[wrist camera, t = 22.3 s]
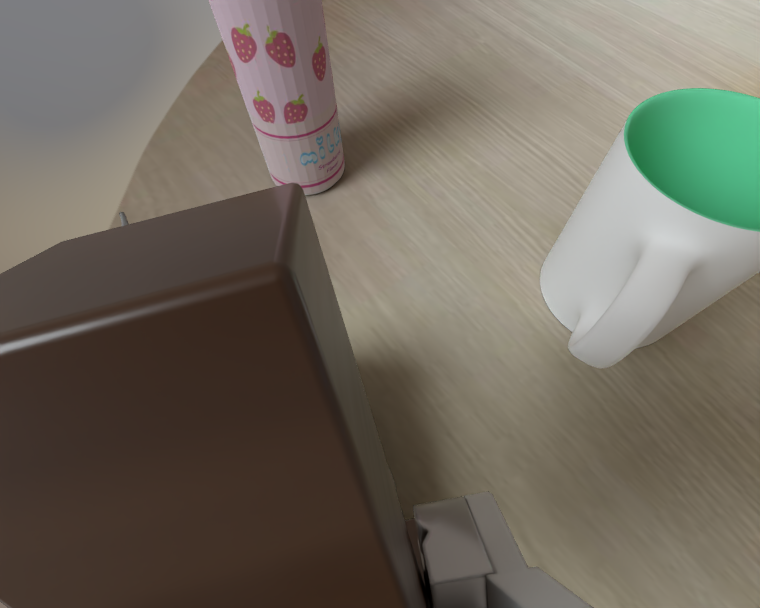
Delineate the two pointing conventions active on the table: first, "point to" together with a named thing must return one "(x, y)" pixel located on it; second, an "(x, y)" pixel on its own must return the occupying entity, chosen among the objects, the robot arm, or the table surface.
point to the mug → (660, 224)
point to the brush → (192, 423)
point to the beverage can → (286, 86)
